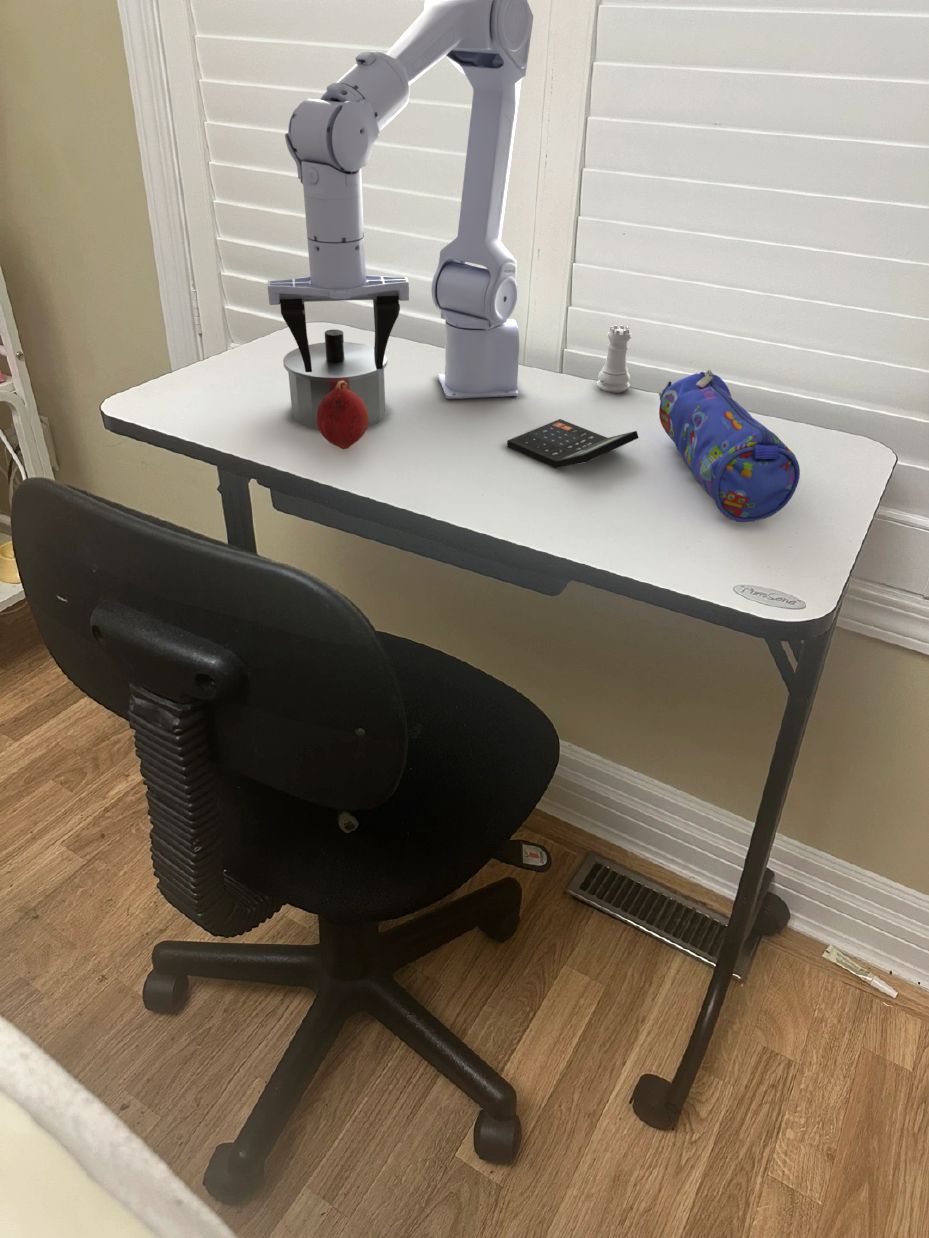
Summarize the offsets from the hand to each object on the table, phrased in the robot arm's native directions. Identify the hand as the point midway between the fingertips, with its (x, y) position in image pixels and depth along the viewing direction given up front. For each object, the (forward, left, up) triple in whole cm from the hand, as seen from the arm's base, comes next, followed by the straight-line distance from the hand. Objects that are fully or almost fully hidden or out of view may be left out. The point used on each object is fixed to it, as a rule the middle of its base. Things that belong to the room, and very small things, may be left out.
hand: (343, 367), depth 99 cm
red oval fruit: (+1, +1, -10) cm, 10 cm away
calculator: (-25, +5, -10) cm, 28 cm away
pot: (+1, -10, -9) cm, 14 cm away
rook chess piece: (-36, -14, -10) cm, 40 cm away
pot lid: (+1, -10, -3) cm, 10 cm away
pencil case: (-39, +14, -10) cm, 43 cm away
